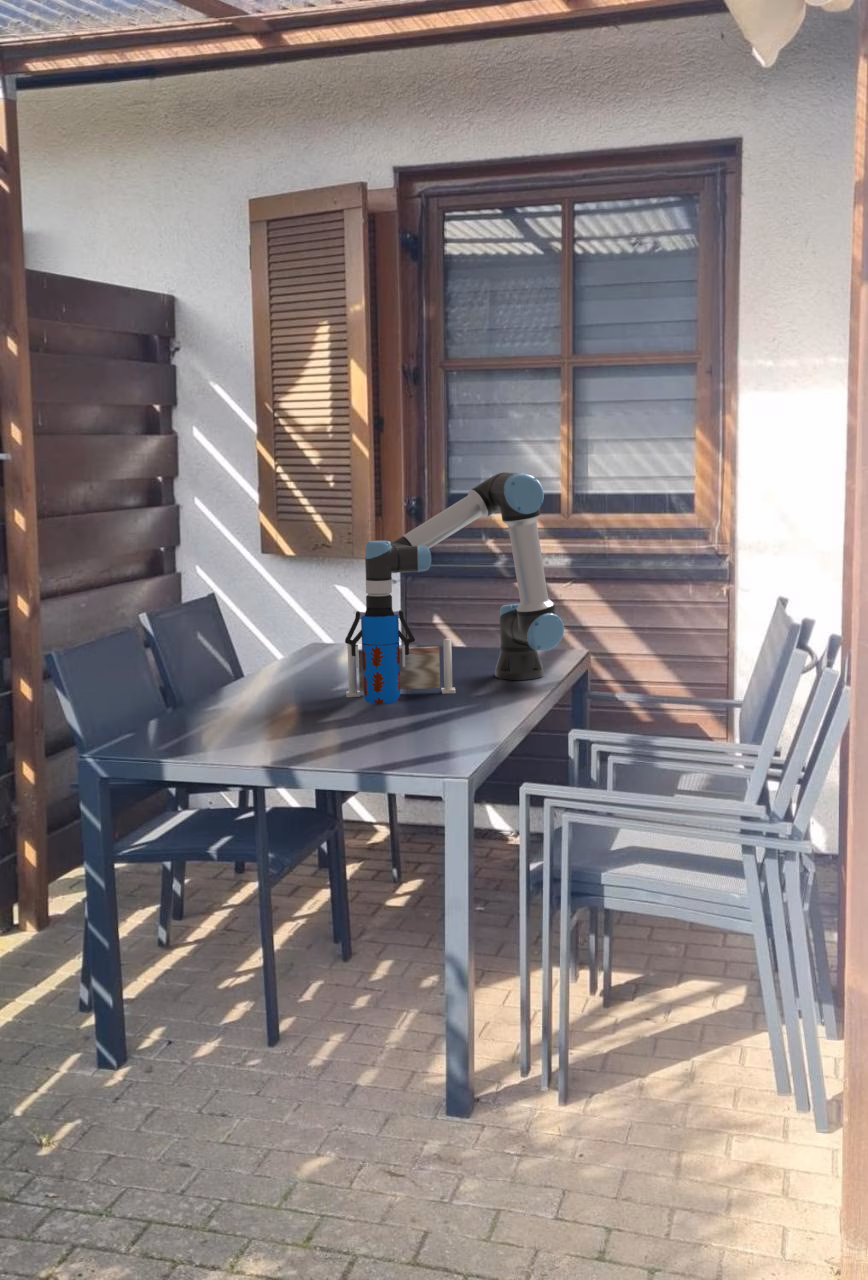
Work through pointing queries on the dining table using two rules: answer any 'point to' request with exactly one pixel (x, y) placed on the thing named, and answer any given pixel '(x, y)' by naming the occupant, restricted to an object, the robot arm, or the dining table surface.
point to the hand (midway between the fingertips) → (380, 666)
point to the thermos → (380, 659)
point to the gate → (415, 668)
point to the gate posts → (447, 671)
